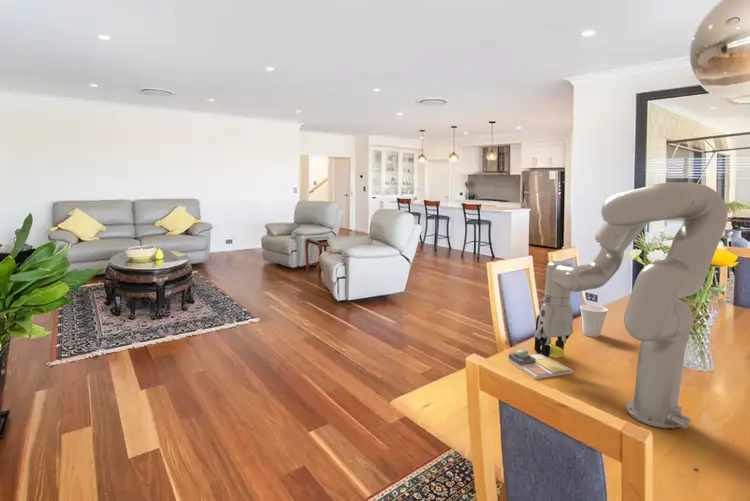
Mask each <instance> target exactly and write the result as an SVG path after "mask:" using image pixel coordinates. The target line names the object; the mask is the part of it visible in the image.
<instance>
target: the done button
mask: <svg viewBox="0 0 750 501" xmlns="http://www.w3.org/2000/svg"><path fill="white" fill-rule="evenodd" d="M516 353H517V354H516V357H517V358H520V359H527V358H528V355H529V351H528V350H527V349H522V348H518V349H516Z"/></svg>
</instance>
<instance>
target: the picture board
mask: <svg viewBox="0 0 750 501" xmlns="http://www.w3.org/2000/svg"><path fill="white" fill-rule="evenodd" d="M516 354H517V352H514V353H513V352H512V353H508V362H509V363H511V364H512V365H514V366H515V367H517V368H518V369H520V370H521V371H523V372H524V373H526V374H527V375H529V376H530V377H532V378H533V379H535V380H538V379H544V378H545V379H546V378H551V377H558V376H563V375H571V374H574V370H573V369H572V368H570V367H567V366H566V365H564V364H562V363H561V362H559V361H557V360H556V359H554V358H553V357H551V356H549V357H546V356H544V355H542V354H541V353H540V354H538V353H536V354H528V358H527V359H520V358H517V357H516Z"/></svg>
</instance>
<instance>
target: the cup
mask: <svg viewBox="0 0 750 501" xmlns="http://www.w3.org/2000/svg"><path fill="white" fill-rule="evenodd" d="M579 307H580V315H581V325H582V326H581V327H582V334H583V335H585V336H587V337H591V338H598V337H600V336H601V333H602V330H603V326H604V323H605V320H606V317H607V313H608V311H609V309H608V308H606V307H605V306H601V305H597V304H596V305H595V304H581V305H580V306H579Z"/></svg>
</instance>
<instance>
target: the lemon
mask: <svg viewBox="0 0 750 501" xmlns="http://www.w3.org/2000/svg"><path fill="white" fill-rule="evenodd" d="M549 345H550V355H549V357H551V358H560V357H564V355H565V351H563V349H562V348H559V347H557V346H555V344H553V343H550V344H549ZM540 348H542V345H541V347H540Z"/></svg>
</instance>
